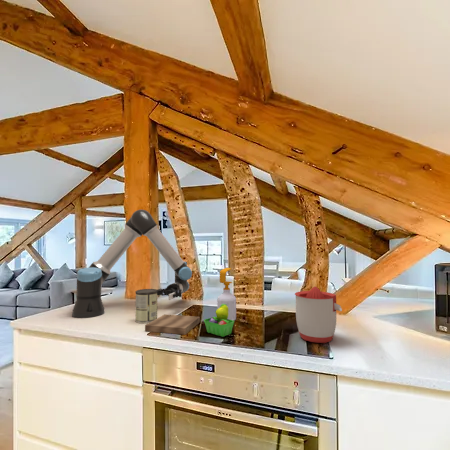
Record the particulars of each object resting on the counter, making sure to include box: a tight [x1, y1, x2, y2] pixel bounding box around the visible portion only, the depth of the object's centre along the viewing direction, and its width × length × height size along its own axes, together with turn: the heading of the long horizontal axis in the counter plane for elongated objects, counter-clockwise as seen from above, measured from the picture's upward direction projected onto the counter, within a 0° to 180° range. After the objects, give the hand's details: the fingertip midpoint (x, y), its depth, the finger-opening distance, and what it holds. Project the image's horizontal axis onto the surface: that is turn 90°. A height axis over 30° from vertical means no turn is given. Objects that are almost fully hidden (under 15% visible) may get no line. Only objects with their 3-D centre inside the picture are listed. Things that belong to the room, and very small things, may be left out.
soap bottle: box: [216, 267, 237, 322], centre depth 137 cm, size 9×9×25 cm
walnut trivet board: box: [144, 314, 201, 335], centre depth 125 cm, size 18×18×2 cm
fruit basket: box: [203, 304, 235, 337], centre depth 117 cm, size 11×9×11 cm
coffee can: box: [135, 288, 158, 324], centre depth 135 cm, size 10×10×14 cm
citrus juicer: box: [294, 286, 343, 344], centre depth 110 cm, size 16×17×20 cm
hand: (157, 296), depth 145 cm, fingers open, 13 cm apart
